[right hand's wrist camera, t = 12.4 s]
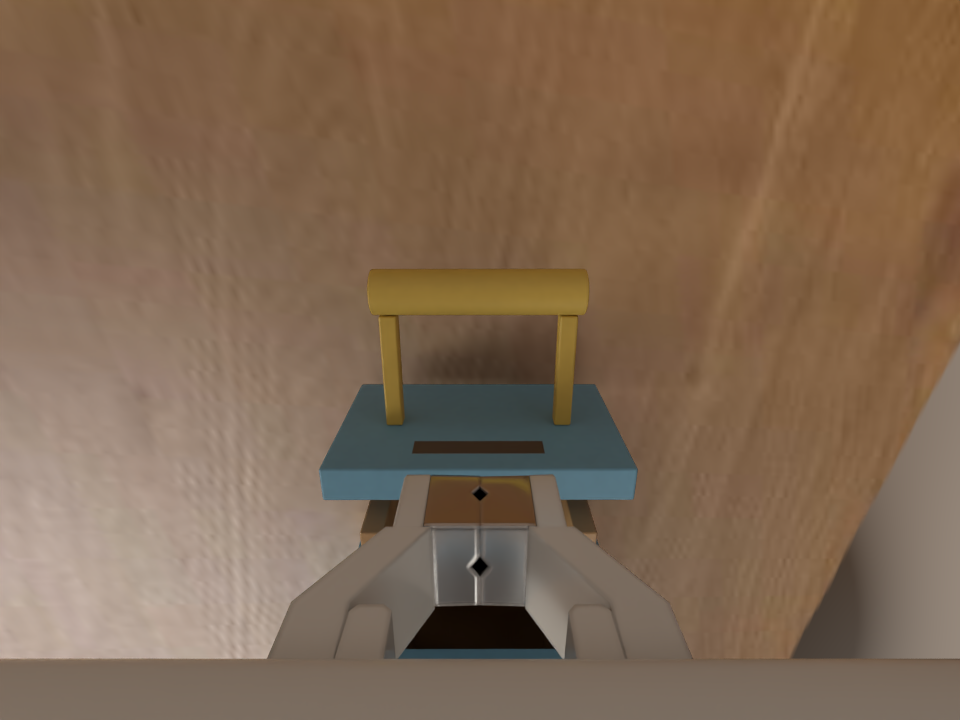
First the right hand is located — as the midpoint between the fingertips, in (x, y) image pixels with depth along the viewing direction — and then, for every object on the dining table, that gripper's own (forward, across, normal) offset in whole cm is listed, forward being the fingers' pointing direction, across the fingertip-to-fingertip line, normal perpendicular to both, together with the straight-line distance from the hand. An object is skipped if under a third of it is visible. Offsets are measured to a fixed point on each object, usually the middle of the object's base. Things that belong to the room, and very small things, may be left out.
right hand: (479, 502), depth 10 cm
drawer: (+11, 0, -9) cm, 15 cm away
